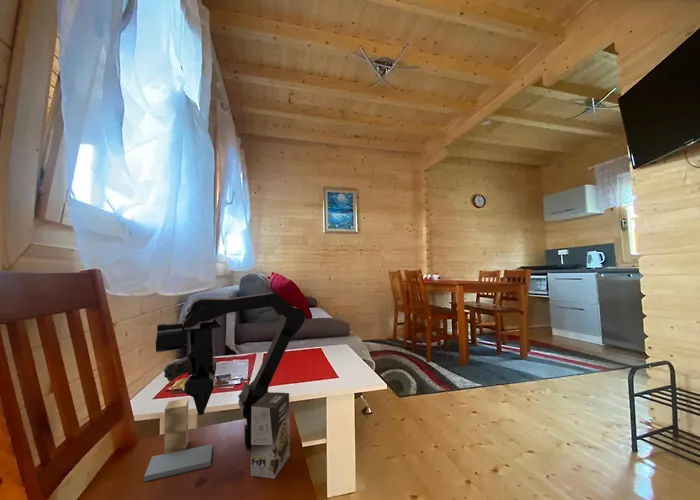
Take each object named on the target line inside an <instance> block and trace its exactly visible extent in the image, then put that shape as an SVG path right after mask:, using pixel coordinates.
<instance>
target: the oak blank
mask: <svg viewBox="0 0 700 500" xmlns="http://www.w3.org/2000/svg"><path fill="white" fill-rule="evenodd" d="M188 444H189V398H181V399H175V400H170V401H168V402H167V404H166V406H165V408H164V454H167V453H172V452H177V451H182V450H186V449H188Z"/></svg>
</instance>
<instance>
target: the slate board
mask: <svg viewBox="0 0 700 500" xmlns="http://www.w3.org/2000/svg"><path fill="white" fill-rule="evenodd" d="M212 452H213V444H212V443H211V444H206V445H201V446H198V447H197V446H196V447H193V448H186V450H182V451H177V452H172V453H167V454H163V453H162V454H158V455H152V456H151V459H150V461H149V464H148V466H147V468H146V471H145V474H144V476H143V482H144V483H145V482H148V481H154V480H157V479H161V478H166V477H171V476H175V475H179V474H183V473H188V472H192V471H196V470H200V469H201V470H202V469H204V468H209V467H211V464H212V456H213V455H212V454H213V453H212Z"/></svg>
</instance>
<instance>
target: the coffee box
mask: <svg viewBox="0 0 700 500" xmlns="http://www.w3.org/2000/svg"><path fill="white" fill-rule="evenodd" d="M289 458H290V392H280V391H279V392H272V391H270V392H269V391H268V392H267V393H266V394H265V395H264V396H263V397H262V398H260V399H259V400H258V401H257V402H256V403H255V404H253V405H252V406H251V449H250V476H252V477H259V478H266V479H276V478H277V476H278V475H279V473H280V471H281V469H282V468H283V466H284V465H285V464H286V462H287V461H288V459H289Z"/></svg>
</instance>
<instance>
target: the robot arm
mask: <svg viewBox="0 0 700 500" xmlns="http://www.w3.org/2000/svg"><path fill="white" fill-rule="evenodd" d="M268 307H269V308H271V309H272V311H274V312H275V313H276V314H278V316H279V318H278V322H277V327H276V333H275V336H274V338H273V339H272V342H271V344H270V346H269V348H268V350H267V352H266V355H265V357H264V358H263V361H262V363H261V365H260V367H259V369H258V371H257V373H256V376H255V377H254V379H253V380H252V381H251V382H250V383H249V384H248V383H247V382H245V383H244V384H243V388H242V389H241V392H240V393H239V394H238V397H237V398H238V407H239V409H240V412H241V413H242V414H241V415H242V416H243V417H244V419H246V424H244V427H243V428H244V431H243V434H244V435H243V436H244V437H243V439H244V440H243V441H244V445H246V450H249V451H251V406H252V405H253V404H255V403H256V402H257V401H258V400H259V399H260V398H262V397H263V396H264V395H265V394H266V393H267V392H269V388H270V384H271V382H272V380H273V378H274V376H275V374H276V371H277V369H278V367H279V365H280V363H281V361H282V358H283V356H284V354H285V353H286V349H287V347H288V345H289V343H290V341H291V339H292V338H294V336H295V335H296V334H297V333H298V332H299V331H300V329H301V328H302V326H303V325H304V323H305V321H306V314H305V312H304V310H303V309H301V308H299V307H296V306H293V305H291V304H290V303H289V302H287V301H286V300H284V299H283V298H282V297H280V295H279V294H277V293H276V292H272V291H269V292H266V293H260V294H259V293H258V294H251V295H245V296H244V295H243V296H236V297H229V298H224V297H223V298H221V297H203V296H202V297H197V298H195V299H193V300H192V302H191V303H190V305H189V309H188V310H189V311H188V313H187V314H186V315H185V317H184V318H183V319H182V320H181V322H176V323H175V322H174V323H158V324H157V328H156V338H155V353H156V354H157V353H164V352H171V351H179V350H182V349H183V347H185V345H186V346H187V345H188V334H187V333H188V332H189V352H188V354H187V356H185V357H182V358H180V359H178V360H176V361H173V362H171V363H169V364H167V365H166V366H165V367H164V369H163V372H164V375H163V376H164V377H165V378H166V379H167V382H172V381H174V380H175V379H176V378H179V377H181V376H183V375H185V374H187V376H189V377H187V379H186V380H185V382H184V386H183V389H184V390H183V391H184V394H186V395H187V396H190V397H192V399H193V401H194V405H195V408H196V412H197V415H198V416H203V415H204V413H205V412H206V411H205V410H206V409H207V405H208V403H209V401H210V397H211V395H212V393H213V390H214V387H215V376H216V375H215V374H216V370H217V360H216V359H215V344H214V343H215V338H214V337H215V335H214V331H215V329H221V328H222V324H221V323H220V322H219V321H218V320H217V319H216V318H219V317H221V316H224V315H227V314H230V313H236V312H244V311H248V310H255V309H256V310H257V309H262V308H268ZM198 323H199V324H198ZM197 324H198V325H197Z"/></svg>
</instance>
